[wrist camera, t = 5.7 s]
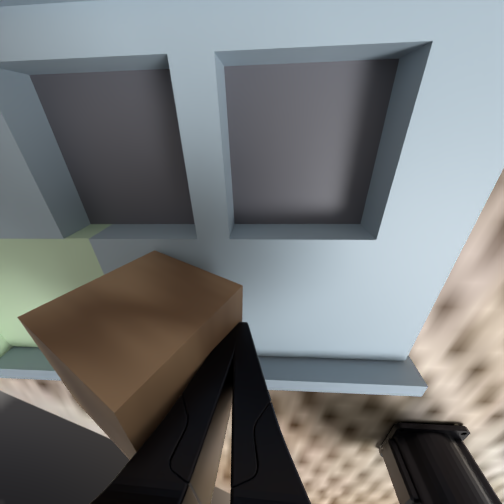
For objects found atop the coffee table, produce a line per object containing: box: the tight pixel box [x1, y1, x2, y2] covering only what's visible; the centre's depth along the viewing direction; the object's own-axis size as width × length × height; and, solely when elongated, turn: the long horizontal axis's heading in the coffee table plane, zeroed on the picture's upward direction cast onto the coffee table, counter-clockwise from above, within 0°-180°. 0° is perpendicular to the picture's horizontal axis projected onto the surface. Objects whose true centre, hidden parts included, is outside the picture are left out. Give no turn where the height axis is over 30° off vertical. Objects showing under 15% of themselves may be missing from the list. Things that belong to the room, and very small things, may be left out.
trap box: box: [0, 0, 504, 397], centre depth 10 cm, size 28×18×4 cm, turn 91°
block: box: [17, 250, 243, 459], centre depth 9 cm, size 5×5×5 cm
